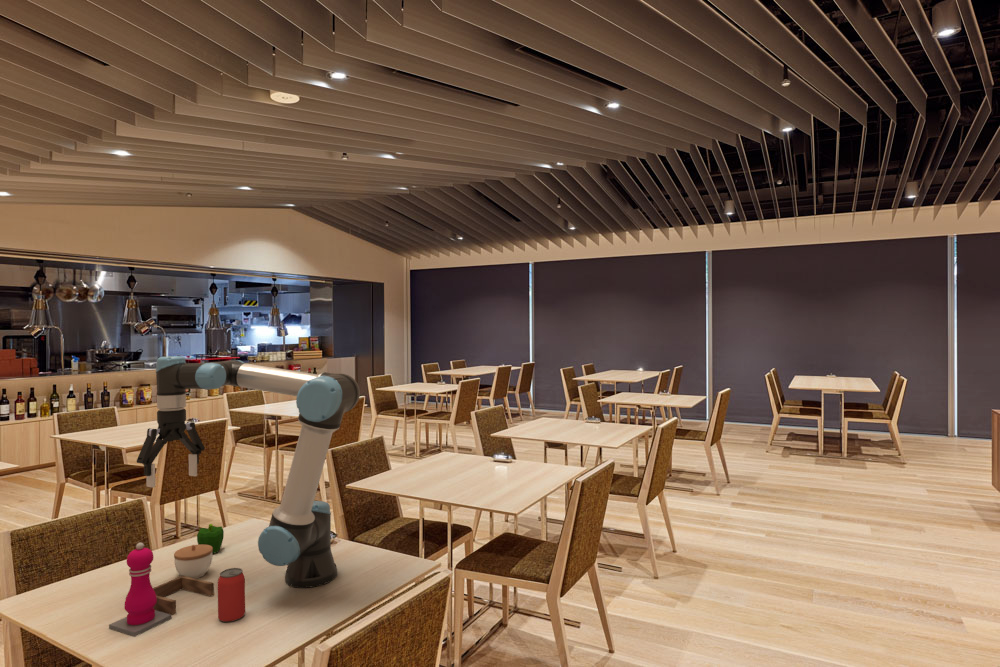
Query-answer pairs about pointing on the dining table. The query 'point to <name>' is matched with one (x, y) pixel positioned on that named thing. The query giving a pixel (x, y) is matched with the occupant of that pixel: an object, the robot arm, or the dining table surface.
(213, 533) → the bell pepper
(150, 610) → the pepper mill
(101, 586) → the dining table surface
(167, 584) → the u-shaped frame
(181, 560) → the lidded jar
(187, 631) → the dining table surface
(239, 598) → the beer can
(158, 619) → the coaster
